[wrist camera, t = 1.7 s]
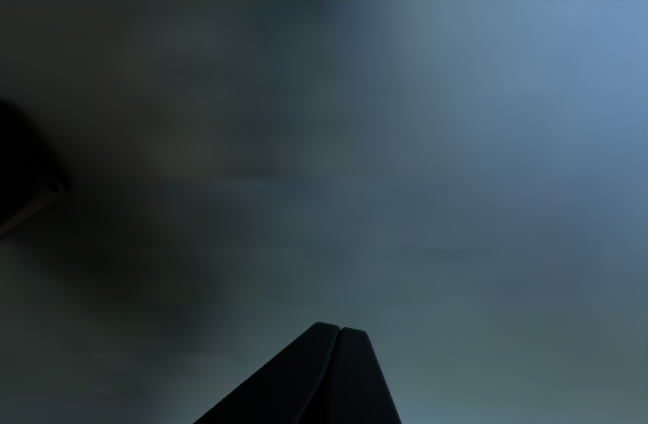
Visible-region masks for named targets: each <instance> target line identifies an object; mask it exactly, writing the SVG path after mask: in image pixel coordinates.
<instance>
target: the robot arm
mask: <svg viewBox="0 0 648 424" xmlns="http://www.w3.org/2000/svg"><path fill="white" fill-rule="evenodd" d="M53 182H55V183H56V184H57V185H58V186H59V187H57V186H56V185H55V184H54V183H53ZM69 189H70V183H69V181H68V179H67V178H66V177H65V176H64V175H63V174H62V172H61V171H60V170H59V169H58V168H57V167H56V166H55V165H54V164H53V163H52V162H51V161H50V160H49V159H48V157H47V156H46V155H45V154H44V153H43V152H42V151H41V150H40V149H39V148H38V147H37V146H36V145H35V144H34V142H33V141H32V140H31V139H30V138H29V137H28V136H27V135H26V134H25V133H24V132H23V131H22V130H21V129H20V127H19V126H18V125H17V124H16V123H15V122H14V121H13V120H12V119H11V118H10V117H9V116H8V115H7V114H6V112H5V111H4V110H3V109H2V108H1V107H0V235H2V234H3V233H5V232H7V231H8V230H10V229H11V228H13V227H14V226H16V225H18V224H19V223H21V222H22V221H24V220H25V219H27V218H28V217H30V216H32V215H33V214H35V213H36V212H38V211H39V210H41V209H43V208H44V207H46V206H47V205H49V204H50V203H52V202H54V201H55V200H57V199H58V198H60V197H61V196H63V195H64V194H65V193H66V192H67V191H68V190H69ZM193 424H402V423H401V420H400V418H399V415H398V412H397V410H396V407H395V405H394V402H393V399H392V397H391V394H390V391H389V389H388V386H387V384H386V381H385V378H384V376H383V373H382V371H381V368H380V365H379V363H378V360H377V358H376V355H375V352H374V350H373V347H372V345H371V342H370V339H369V337H368V335H367V333H366V332H365V331H362V330H358V329H353V328H348V327H344V328H342V330H341V329H340V327H339V326H337V325H332V324H327V323H322V322H317V323H315V324H313V325H312V326H311V327H310V328H309V329H307V330H306V331H305V332H304V333H302V334H301V335H300V336H299V337H298V338H296V339H295V340H294V341H293V342H292V343H290V344H289V345H288V346H287V347H285V348H284V349H283V350H282V351H281V352H279V353H278V354H277V355H276V356H275V357H273V358H272V359H271V360H270V361H268V362H267V363H266V364H265V365H264V366H262V367H261V368H260V369H259V370H258V371H256V372H255V373H254V374H253V375H251V376H250V377H249V378H248V379H247V380H245V381H244V382H243V383H242V384H241V385H239V386H238V387H237V388H236V389H234V390H233V391H232V392H231V393H230V394H228V395H227V396H226V397H225V398H224V399H222V400H221V401H220V402H219V403H217V404H216V405H215V406H214V407H213V408H211V409H210V410H209V411H208V412H207V413H205V414H204V415H203V416H202V417H200V418H199V419H198V420H197V421H196V422H194V423H193Z"/></svg>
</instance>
